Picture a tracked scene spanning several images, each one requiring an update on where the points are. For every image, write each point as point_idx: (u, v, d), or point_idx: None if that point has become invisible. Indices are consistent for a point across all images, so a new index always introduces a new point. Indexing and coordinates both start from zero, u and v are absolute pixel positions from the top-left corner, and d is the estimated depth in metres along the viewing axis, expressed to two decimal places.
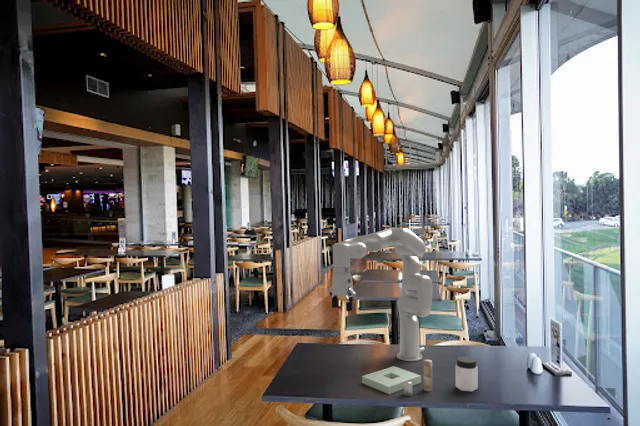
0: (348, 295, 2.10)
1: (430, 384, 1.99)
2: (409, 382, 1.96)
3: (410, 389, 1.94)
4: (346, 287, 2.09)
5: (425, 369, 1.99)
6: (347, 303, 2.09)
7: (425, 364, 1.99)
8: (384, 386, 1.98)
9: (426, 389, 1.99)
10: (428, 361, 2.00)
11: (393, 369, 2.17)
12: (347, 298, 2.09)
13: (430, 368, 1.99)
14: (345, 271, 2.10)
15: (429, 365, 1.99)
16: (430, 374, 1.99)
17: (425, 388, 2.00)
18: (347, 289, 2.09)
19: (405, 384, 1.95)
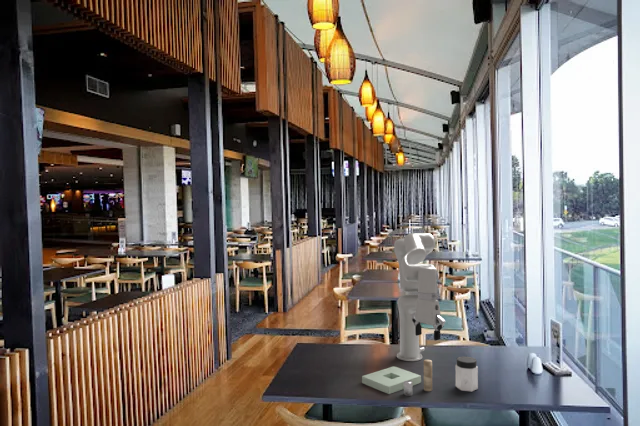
0: (436, 323, 1.96)
1: (430, 384, 1.99)
2: (409, 382, 1.96)
3: (410, 389, 1.94)
4: (434, 314, 1.95)
5: (425, 369, 1.99)
6: (435, 331, 1.95)
7: (425, 364, 1.99)
8: (384, 386, 1.98)
9: (426, 389, 1.99)
10: (428, 361, 2.00)
11: (393, 369, 2.17)
12: (435, 326, 1.95)
13: (430, 368, 1.99)
14: (432, 297, 1.96)
15: (429, 365, 1.99)
16: (430, 374, 1.99)
17: (425, 388, 2.00)
18: (435, 316, 1.95)
19: (405, 384, 1.95)
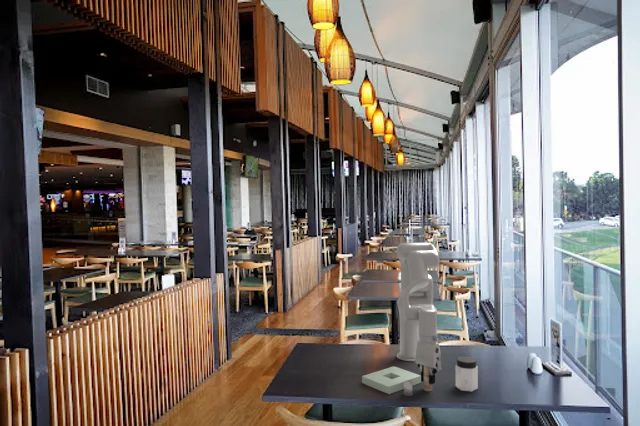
0: (433, 367, 1.98)
1: None
2: (409, 382, 1.96)
3: (410, 389, 1.94)
4: (434, 357, 1.96)
5: (425, 369, 1.99)
6: (430, 376, 1.98)
7: None
8: (384, 386, 1.98)
9: (426, 389, 1.99)
10: None
11: (393, 369, 2.17)
12: (431, 371, 1.97)
13: None
14: (433, 340, 1.97)
15: None
16: None
17: (425, 388, 2.00)
18: (435, 360, 1.96)
19: (405, 384, 1.95)
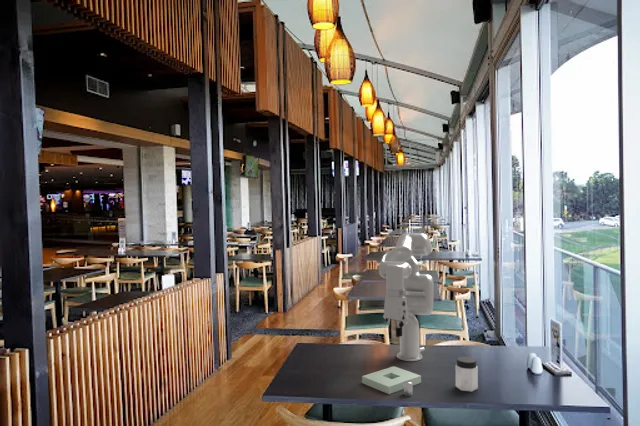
0: (400, 320, 2.05)
1: (397, 337, 2.06)
2: (409, 382, 1.96)
3: (410, 389, 1.94)
4: (401, 310, 2.03)
5: (392, 322, 2.06)
6: (397, 329, 2.05)
7: None
8: (384, 386, 1.98)
9: (393, 342, 2.06)
10: None
11: (393, 369, 2.17)
12: (398, 324, 2.04)
13: None
14: (400, 294, 2.04)
15: None
16: None
17: (392, 341, 2.06)
18: (402, 312, 2.03)
19: (405, 384, 1.95)
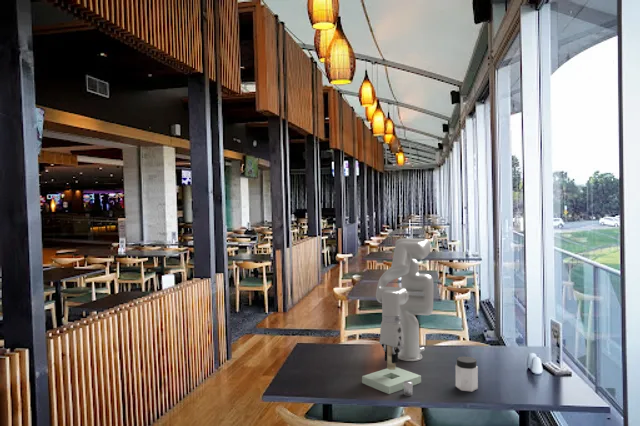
0: (396, 346, 2.06)
1: (393, 363, 2.07)
2: (409, 382, 1.96)
3: (410, 389, 1.94)
4: (397, 337, 2.04)
5: (388, 348, 2.07)
6: (393, 355, 2.06)
7: None
8: (384, 386, 1.98)
9: (389, 368, 2.07)
10: None
11: None
12: (394, 350, 2.05)
13: None
14: (395, 320, 2.05)
15: None
16: None
17: (388, 367, 2.07)
18: (398, 339, 2.04)
19: (405, 384, 1.95)
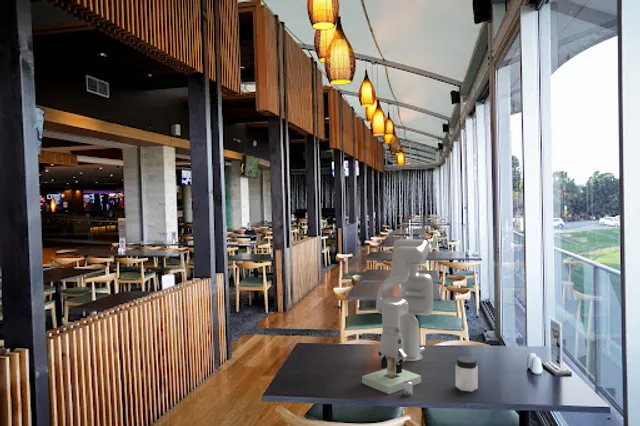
0: (398, 357, 2.05)
1: (393, 377, 2.07)
2: (409, 382, 1.96)
3: (410, 389, 1.94)
4: (397, 348, 2.04)
5: (388, 363, 2.08)
6: (397, 365, 2.04)
7: (388, 358, 2.07)
8: (384, 386, 1.98)
9: None
10: None
11: None
12: (397, 360, 2.04)
13: (393, 362, 2.07)
14: (395, 332, 2.05)
15: (392, 359, 2.07)
16: (393, 368, 2.07)
17: None
18: (398, 350, 2.04)
19: (405, 384, 1.95)
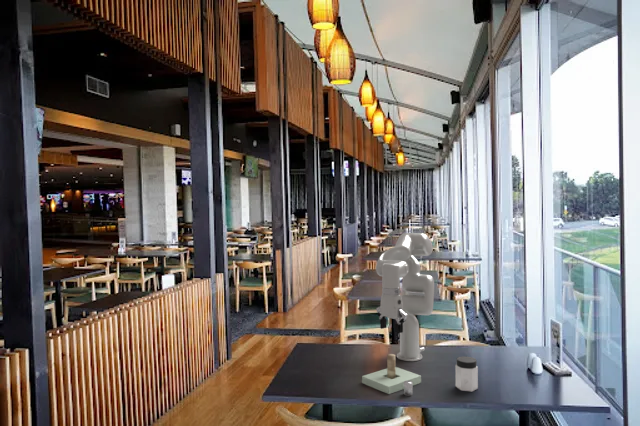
0: (398, 317, 2.06)
1: (393, 377, 2.07)
2: (409, 382, 1.96)
3: (410, 389, 1.94)
4: (397, 309, 2.05)
5: (388, 363, 2.08)
6: (398, 325, 2.05)
7: (388, 358, 2.07)
8: (384, 386, 1.98)
9: None
10: (391, 355, 2.08)
11: None
12: (398, 320, 2.05)
13: (393, 362, 2.07)
14: (395, 292, 2.06)
15: (392, 359, 2.07)
16: (393, 368, 2.07)
17: None
18: (398, 311, 2.05)
19: (405, 384, 1.95)
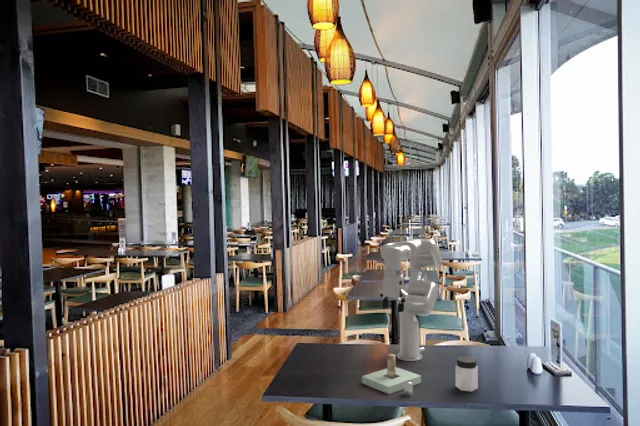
0: (400, 296, 2.20)
1: (393, 377, 2.07)
2: (409, 382, 1.96)
3: (410, 389, 1.94)
4: (398, 289, 2.19)
5: (388, 363, 2.08)
6: (399, 304, 2.19)
7: (388, 358, 2.07)
8: (384, 386, 1.98)
9: None
10: (391, 355, 2.08)
11: None
12: (399, 299, 2.19)
13: (393, 362, 2.07)
14: (397, 273, 2.20)
15: (392, 359, 2.07)
16: (393, 368, 2.07)
17: None
18: (399, 291, 2.19)
19: (405, 384, 1.95)
